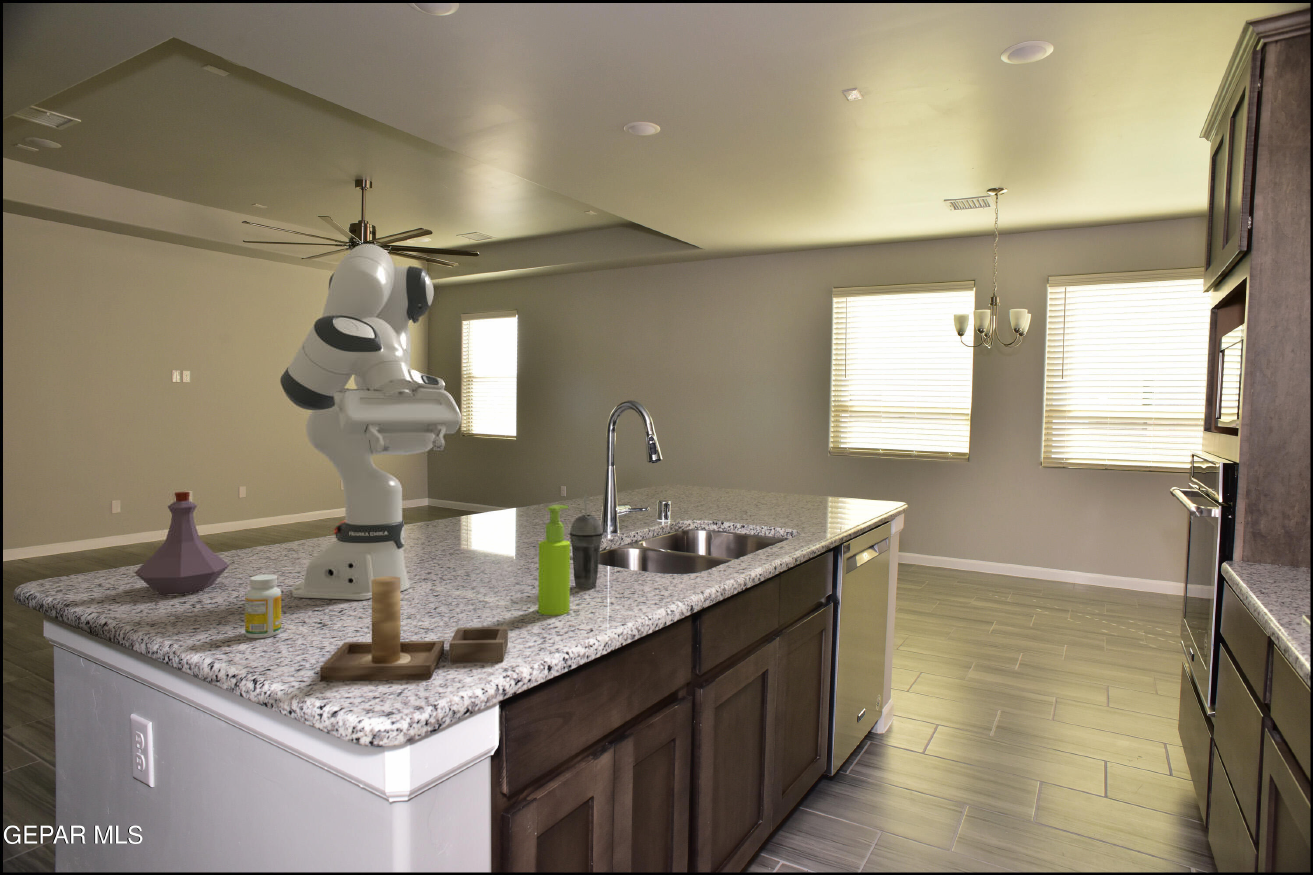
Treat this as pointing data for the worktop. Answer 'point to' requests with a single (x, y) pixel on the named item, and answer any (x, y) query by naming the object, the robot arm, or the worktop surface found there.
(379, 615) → the dowel
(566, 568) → the soap dispenser
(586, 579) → the beverage cup
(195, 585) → the flask
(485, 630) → the socket
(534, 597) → the worktop surface
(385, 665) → the tray
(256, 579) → the supplement bottle
